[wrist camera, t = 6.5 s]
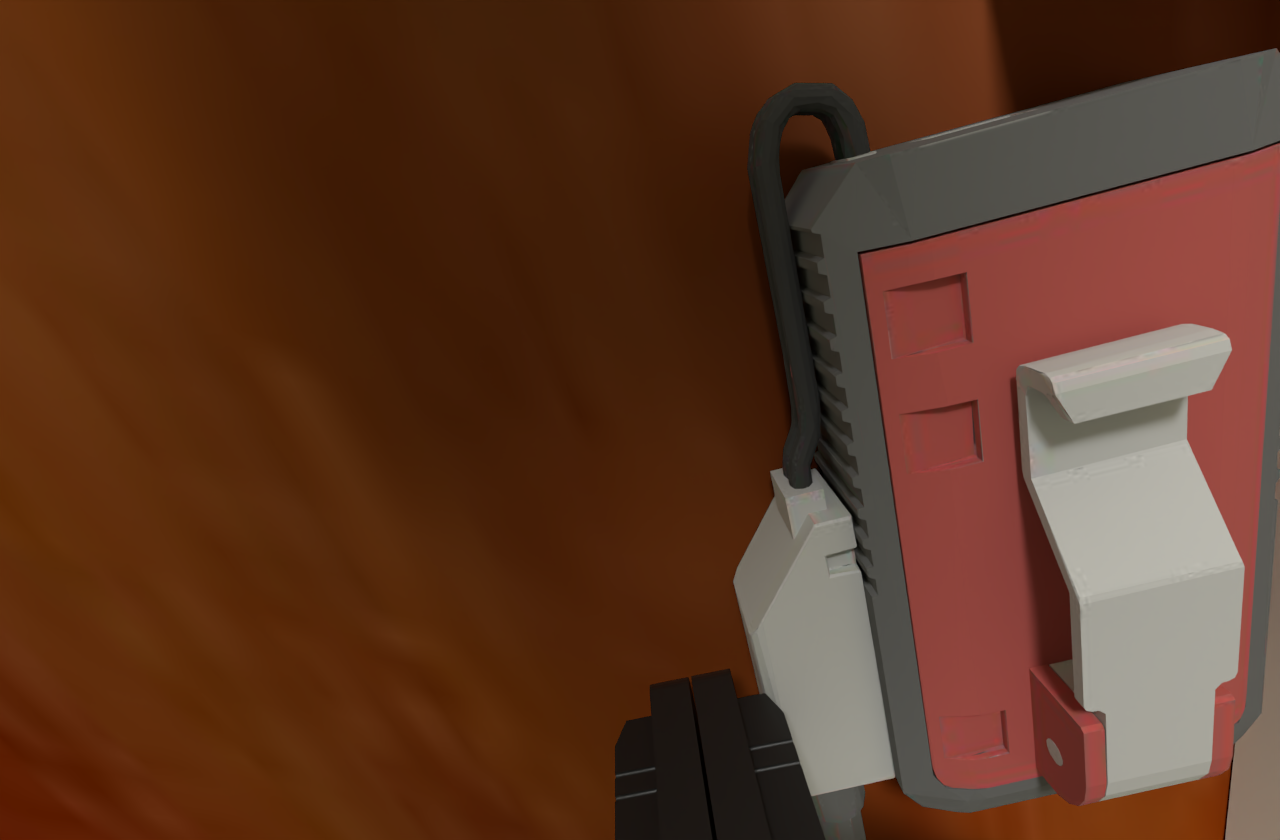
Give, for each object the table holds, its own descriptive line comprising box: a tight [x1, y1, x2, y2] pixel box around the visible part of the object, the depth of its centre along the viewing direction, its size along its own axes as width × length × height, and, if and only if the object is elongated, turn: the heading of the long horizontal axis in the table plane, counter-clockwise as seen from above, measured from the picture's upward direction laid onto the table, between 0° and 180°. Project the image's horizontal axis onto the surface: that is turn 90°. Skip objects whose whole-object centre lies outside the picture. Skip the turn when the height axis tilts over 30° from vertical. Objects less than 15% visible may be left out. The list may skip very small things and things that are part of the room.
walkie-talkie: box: [733, 48, 1280, 840], centre depth 11 cm, size 9×4×20 cm
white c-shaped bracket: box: [1225, 450, 1280, 840], centre depth 11 cm, size 26×6×4 cm, turn 13°
